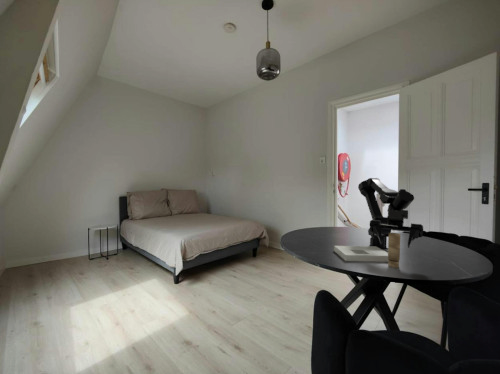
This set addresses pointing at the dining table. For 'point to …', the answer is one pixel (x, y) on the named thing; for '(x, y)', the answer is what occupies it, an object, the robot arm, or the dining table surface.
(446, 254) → the dining table surface
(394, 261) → the oak peg
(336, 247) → the grey socket board
